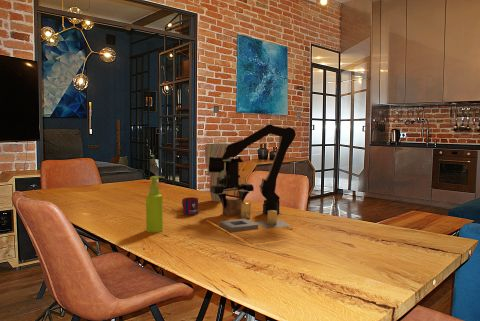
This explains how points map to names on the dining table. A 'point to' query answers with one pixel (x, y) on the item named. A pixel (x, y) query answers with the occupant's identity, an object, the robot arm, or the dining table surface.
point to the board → (279, 224)
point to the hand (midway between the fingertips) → (232, 207)
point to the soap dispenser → (154, 208)
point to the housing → (232, 207)
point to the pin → (245, 210)
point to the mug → (190, 206)
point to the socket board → (238, 225)
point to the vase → (210, 151)
